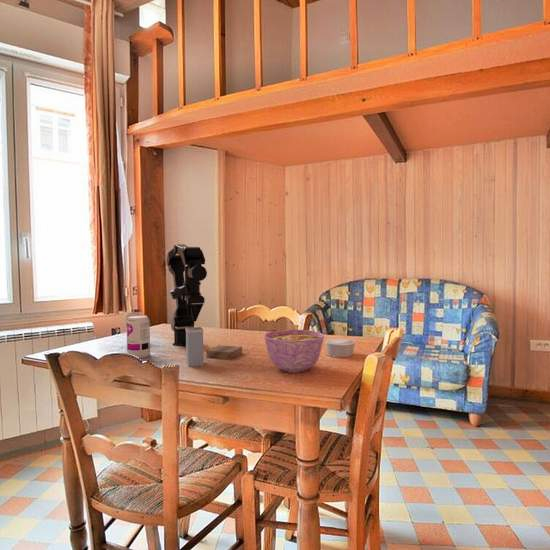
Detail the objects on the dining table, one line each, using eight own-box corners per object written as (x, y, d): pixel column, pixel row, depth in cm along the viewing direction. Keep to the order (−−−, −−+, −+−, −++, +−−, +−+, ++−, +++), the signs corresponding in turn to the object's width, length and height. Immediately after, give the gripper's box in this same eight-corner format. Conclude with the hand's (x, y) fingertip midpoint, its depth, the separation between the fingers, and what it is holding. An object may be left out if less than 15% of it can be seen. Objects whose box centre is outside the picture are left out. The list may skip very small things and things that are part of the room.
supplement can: (129, 359, 163) (128, 319, 163) (125, 355, 171) (124, 316, 170) (152, 357, 167) (151, 317, 166) (147, 352, 174) (146, 314, 174)
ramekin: (353, 359, 162) (353, 345, 162) (322, 357, 165) (322, 343, 165) (356, 352, 173) (356, 339, 173) (328, 350, 176) (328, 337, 176)
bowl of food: (320, 361, 160) (320, 329, 159) (328, 377, 140) (328, 340, 139) (264, 362, 159) (264, 329, 158) (264, 378, 139) (263, 341, 138)
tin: (186, 362, 159) (185, 327, 158) (201, 361, 160) (200, 326, 160) (188, 366, 154) (187, 330, 153) (203, 365, 155) (203, 329, 155)
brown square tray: (206, 358, 167) (206, 350, 167) (219, 352, 176) (219, 345, 176) (230, 360, 163) (230, 352, 163) (242, 354, 173) (242, 346, 172)
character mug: (148, 343, 191) (147, 313, 190) (132, 346, 186) (131, 315, 186) (136, 340, 199) (135, 311, 198) (120, 342, 194) (120, 312, 193)
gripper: (168, 278, 179) (169, 317, 180) (173, 281, 162) (174, 324, 162) (196, 277, 183) (196, 315, 184) (204, 280, 165) (205, 322, 166)
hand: (192, 319), depth 174 cm, fingers open, 9 cm apart
